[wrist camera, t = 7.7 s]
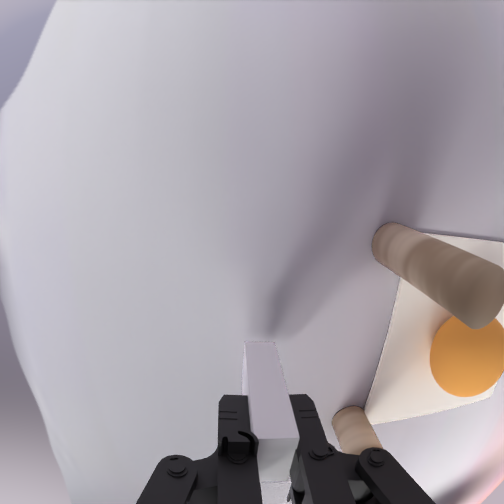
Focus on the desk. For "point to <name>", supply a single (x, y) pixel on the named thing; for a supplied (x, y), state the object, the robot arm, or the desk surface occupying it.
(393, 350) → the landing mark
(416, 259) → the post
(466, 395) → the ball
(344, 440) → the post
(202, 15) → the desk surface
